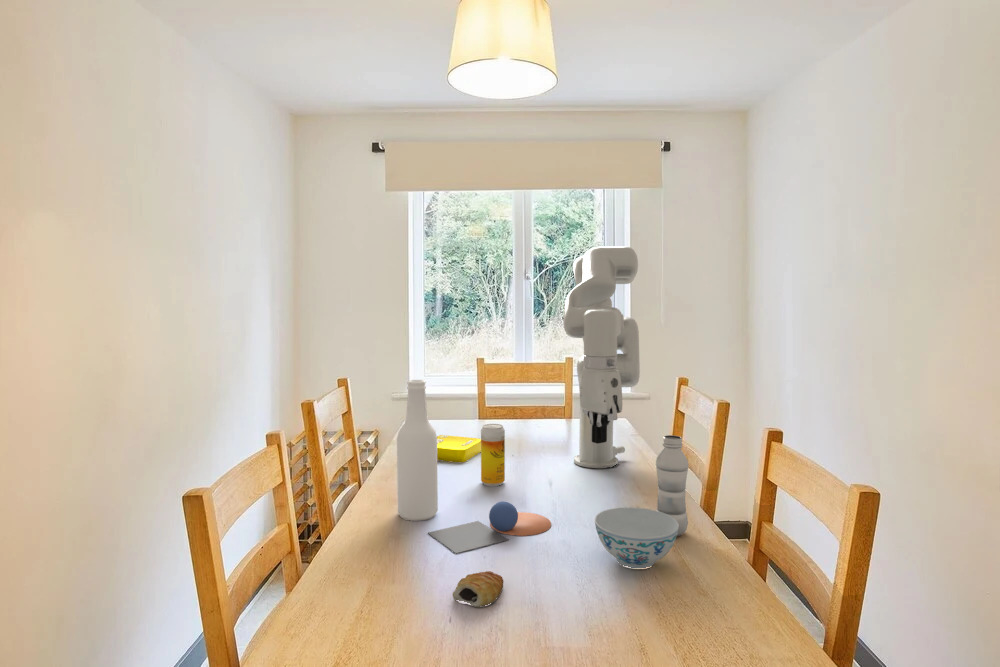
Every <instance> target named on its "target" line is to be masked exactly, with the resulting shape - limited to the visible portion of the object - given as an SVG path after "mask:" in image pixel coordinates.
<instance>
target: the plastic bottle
mask: <svg viewBox="0 0 1000 667" xmlns="http://www.w3.org/2000/svg"><path fill="white" fill-rule="evenodd" d="M662 440H663V443H662V446H663V449H662V450H661V451H660V452H659V454H658V455H657V456H656V460H655V466H656V474H657V487H658V489H657V490H658V493H657V502H656V503H657V504H656V510H655V511H658V512H662V513H664V514H667V515H669V516H671V517H672V518H674V519H675V520H676V521H677V522H678V524H679V529H678V533H677V537H678V536H682V534H683V535H684V534H685V533H686V531H687V530H688V525H689V520H688V518H689V517H688V513H687V507H686V504H687V503H686V490H687V489H686V487H687V485H686V484H687V478H688V472H689V460H688V458H687V457H686V455H685V453H684V452H683V450H682V448H683V437H682V436H679V435H674V434H672V435H671V434H667V435H663V439H662Z"/></svg>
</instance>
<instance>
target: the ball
mask: <svg viewBox="0 0 1000 667" xmlns="http://www.w3.org/2000/svg"><path fill="white" fill-rule="evenodd" d="M517 512H518V510H517V509H516V507H515V505H514V504H513V503H511V502H509V501H506V500H505V501H503V500H502V501H498V502H496V503H495V504H494V505H492V507H491V509H490V511H489V513H488V519H489V524H490V523H491V525H492V526H493V527H494V528H495V529H497V530H499V531H509V530H511V529H512V528H513V527H514V526H515V525H516V523H517V520H518V513H517Z"/></svg>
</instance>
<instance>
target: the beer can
mask: <svg viewBox="0 0 1000 667" xmlns="http://www.w3.org/2000/svg"><path fill="white" fill-rule="evenodd" d="M505 433H506V431H505V428H504V425H503V424H500V423H487V424H483V425H482V427H481V430H480V439H481V453H480V481H481V482H482V484H483V485H484V486H487V487H499V485H500V486H501V484H502V485H503V484H504V482H505V481H506V480H505V479H506V478H505V477H506V476H505V475H506V473H505V472H506V470H505V469H506V468H505V467H506V465H505V462H506V458H505V456H506V454H505V452H506V451H505V450H506V444H505V443H506V441H505V440H506V439H505V437H506V436H505Z"/></svg>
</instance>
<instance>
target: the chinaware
mask: <svg viewBox="0 0 1000 667" xmlns="http://www.w3.org/2000/svg"><path fill="white" fill-rule="evenodd" d="M594 524H595V530H596V533H597V535H598V538H599V541H600V542H601V544H602V545H603V547H604V548H605V550H606V551H607V552H608V553H609V554H610V555H611V556H612V557H613V558H615V559H616V562H617V561H618V562H619V563H620V564H621V565H624V566H628V567H631V568H646V567H650V566H652V565H653V564H654V565H655V563H656V562H658V561H660V560H661V559H662V558H664V557H665V556H666V555H667V554H668V553H669V552H670V550H671V549H672V547H673V546H674V544H675V542H676V539H677V537H678V536H677V533H678V529H679V524H678V522H677V521H676V520H675V519H674V518H672V517H671V516H669V515H667V514H664V513H662V512H658V511H656V510H655V509H650V508H649V509H648V508H641V507H629V506H626V507H614V508H609V509H606V510H603V511H600V512H599V513H598V514H596V515H595V518H594ZM618 562H617V563H618ZM621 565H620V566H621Z"/></svg>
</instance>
